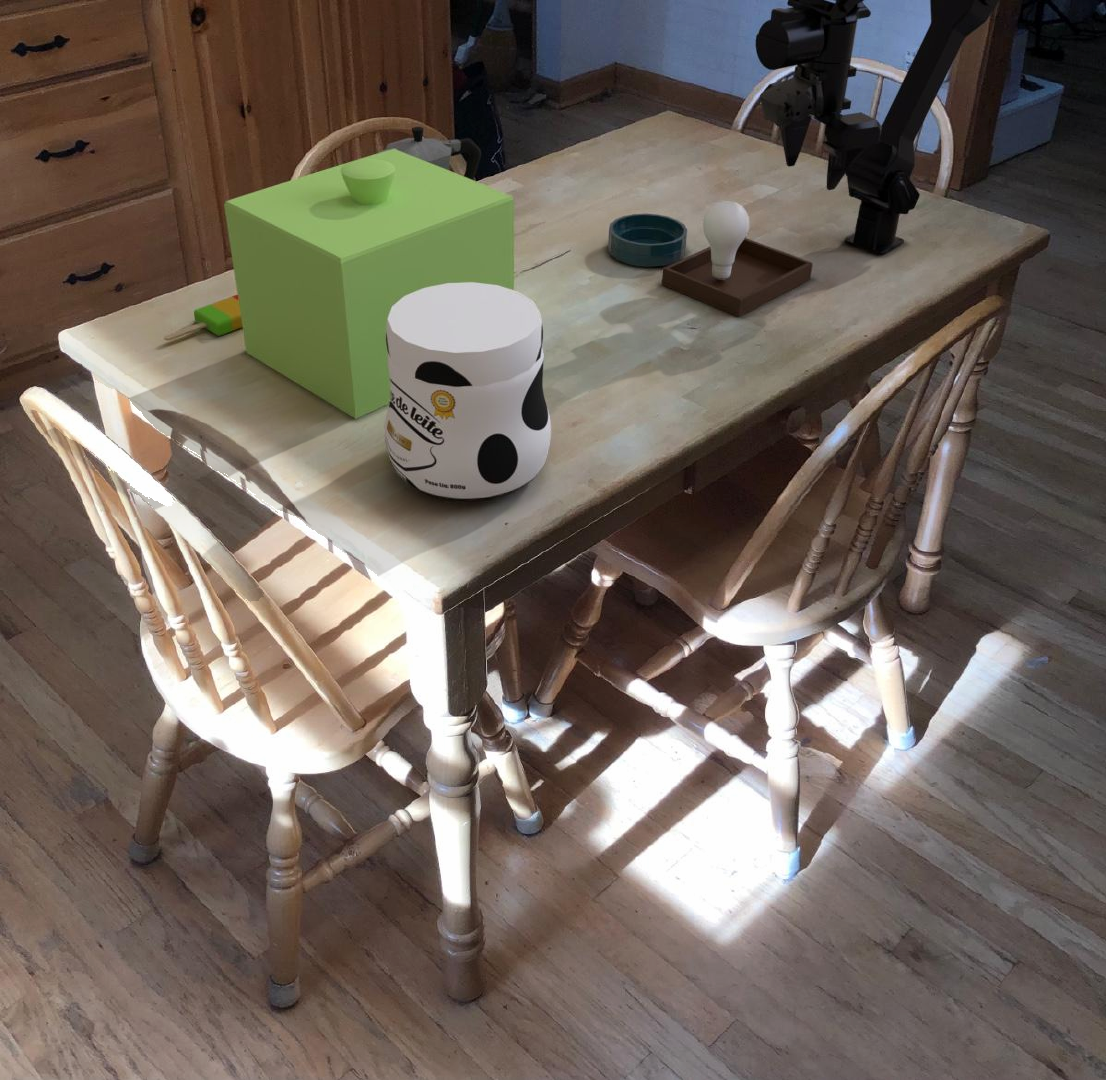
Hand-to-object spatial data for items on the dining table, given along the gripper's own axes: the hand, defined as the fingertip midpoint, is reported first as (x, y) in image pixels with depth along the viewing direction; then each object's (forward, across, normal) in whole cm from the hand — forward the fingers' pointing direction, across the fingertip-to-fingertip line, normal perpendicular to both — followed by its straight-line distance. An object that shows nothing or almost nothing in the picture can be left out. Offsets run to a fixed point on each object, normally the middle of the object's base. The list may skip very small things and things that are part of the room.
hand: (810, 177), depth 164 cm
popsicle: (+13, -15, -78) cm, 80 cm away
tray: (+13, +1, -10) cm, 17 cm away
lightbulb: (+13, 0, -12) cm, 18 cm away
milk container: (+13, +28, -61) cm, 68 cm away
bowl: (+13, -13, -17) cm, 25 cm away
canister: (+13, -1, -61) cm, 62 cm away
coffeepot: (+13, -25, -45) cm, 53 cm away
